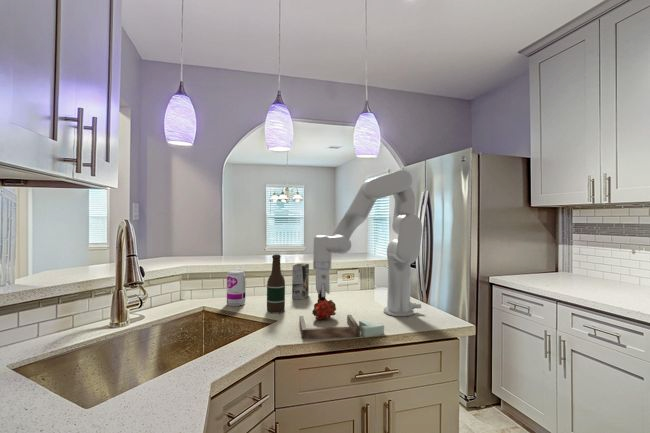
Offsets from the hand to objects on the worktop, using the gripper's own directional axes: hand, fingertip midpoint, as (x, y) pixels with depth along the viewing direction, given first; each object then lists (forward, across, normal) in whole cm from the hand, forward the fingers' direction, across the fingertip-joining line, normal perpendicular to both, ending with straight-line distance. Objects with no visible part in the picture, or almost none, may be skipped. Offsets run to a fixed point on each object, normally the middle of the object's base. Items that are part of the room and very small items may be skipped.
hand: (321, 309), depth 147 cm
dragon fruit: (+2, -6, 0) cm, 7 cm away
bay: (+2, -18, 0) cm, 18 cm away
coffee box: (+3, +30, +7) cm, 31 cm away
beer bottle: (+3, +6, +19) cm, 20 cm away
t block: (+2, -22, -14) cm, 26 cm away
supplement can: (+3, +18, +37) cm, 41 cm away
